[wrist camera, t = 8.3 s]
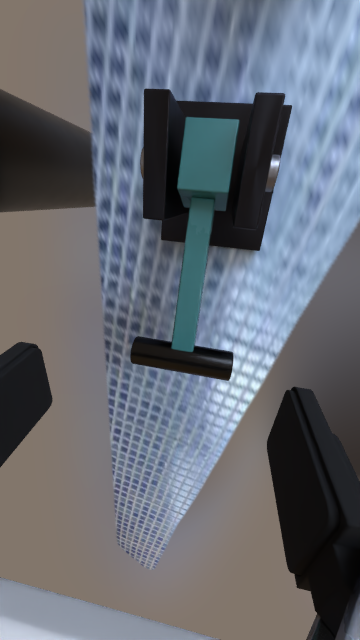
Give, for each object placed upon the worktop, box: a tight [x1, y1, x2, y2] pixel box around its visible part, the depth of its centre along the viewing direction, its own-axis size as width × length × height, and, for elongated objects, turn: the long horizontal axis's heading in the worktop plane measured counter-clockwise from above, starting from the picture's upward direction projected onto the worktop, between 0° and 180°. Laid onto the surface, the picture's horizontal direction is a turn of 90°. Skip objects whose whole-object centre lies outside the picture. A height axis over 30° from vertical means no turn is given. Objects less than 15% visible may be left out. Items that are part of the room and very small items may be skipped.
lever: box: [131, 117, 239, 381], centre depth 12 cm, size 11×5×2 cm, turn 175°
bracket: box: [140, 89, 292, 251], centre depth 15 cm, size 10×9×13 cm
